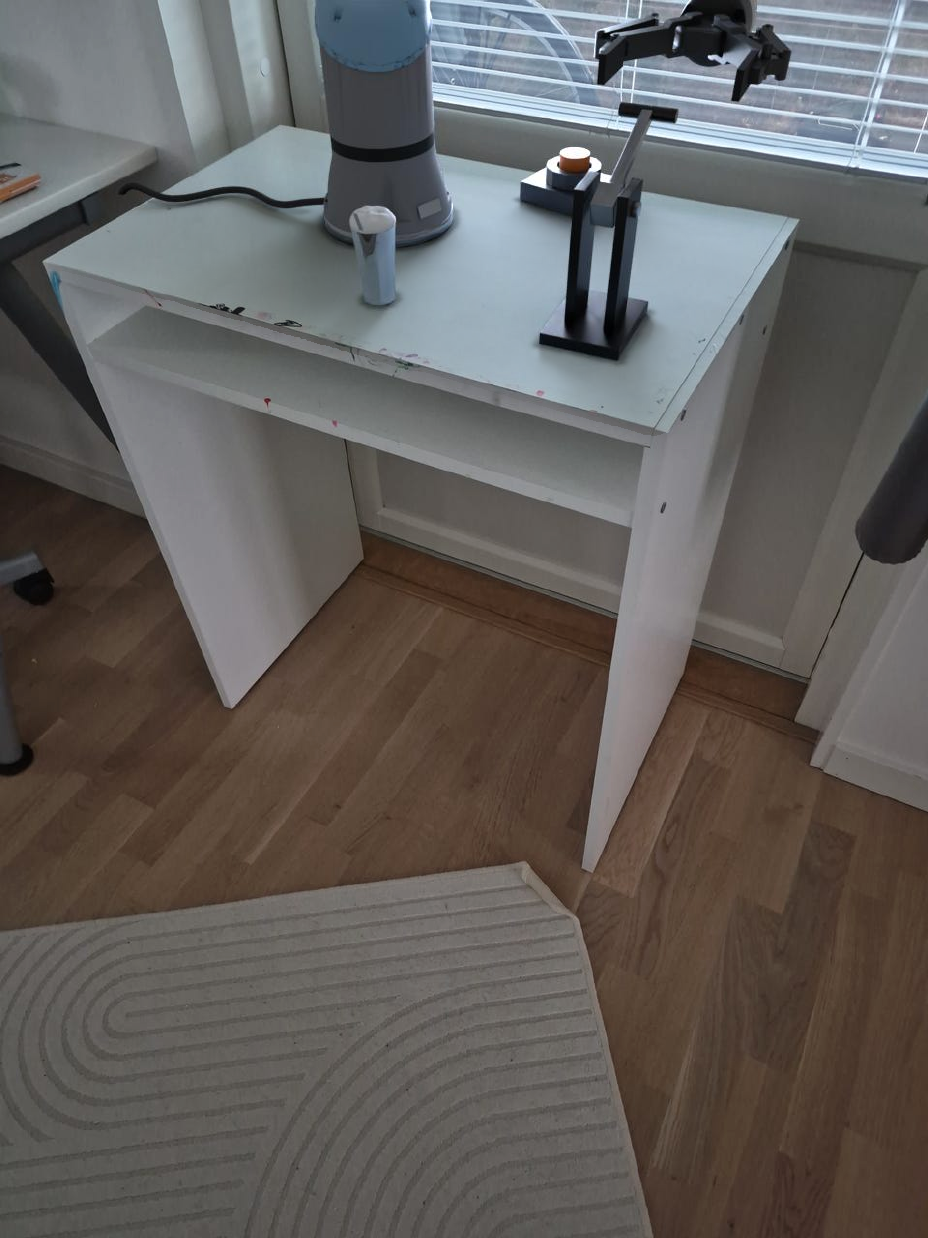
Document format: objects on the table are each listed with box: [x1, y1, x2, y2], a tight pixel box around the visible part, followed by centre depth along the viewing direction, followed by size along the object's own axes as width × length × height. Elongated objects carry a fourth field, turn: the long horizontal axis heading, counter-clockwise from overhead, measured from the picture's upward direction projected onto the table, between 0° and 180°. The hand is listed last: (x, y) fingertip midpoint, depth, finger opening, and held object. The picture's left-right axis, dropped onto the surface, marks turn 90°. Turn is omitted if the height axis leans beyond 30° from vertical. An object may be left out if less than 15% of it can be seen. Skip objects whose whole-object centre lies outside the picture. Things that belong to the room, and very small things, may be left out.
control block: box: [519, 155, 627, 217], centre depth 107 cm, size 10×8×4 cm
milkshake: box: [349, 206, 396, 306], centre depth 89 cm, size 4×5×10 cm
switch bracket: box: [538, 171, 649, 362], centre depth 83 cm, size 10×8×14 cm
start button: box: [559, 146, 591, 172], centre depth 105 cm, size 4×4×2 cm
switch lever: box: [590, 101, 680, 229], centre depth 81 cm, size 14×6×2 cm, turn 156°
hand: (667, 77), depth 86 cm, fingers open, 13 cm apart
